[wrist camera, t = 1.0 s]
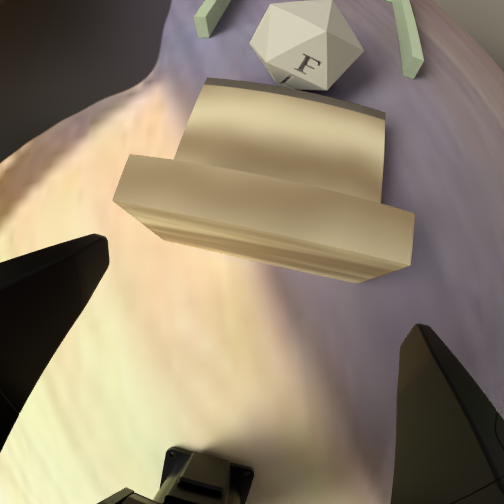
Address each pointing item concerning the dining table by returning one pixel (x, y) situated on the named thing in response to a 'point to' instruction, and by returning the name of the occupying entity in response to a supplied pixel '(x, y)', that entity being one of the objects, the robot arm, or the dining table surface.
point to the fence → (403, 12)
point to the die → (305, 44)
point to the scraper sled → (275, 183)
